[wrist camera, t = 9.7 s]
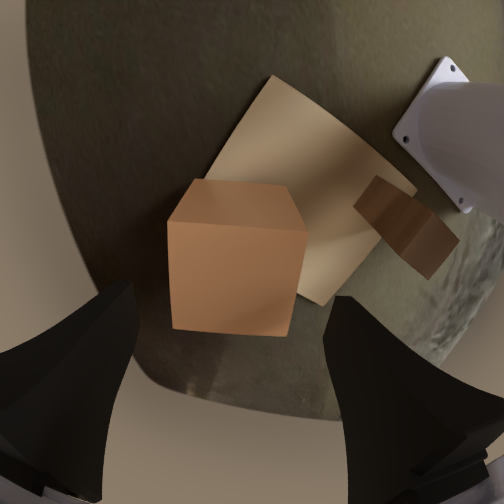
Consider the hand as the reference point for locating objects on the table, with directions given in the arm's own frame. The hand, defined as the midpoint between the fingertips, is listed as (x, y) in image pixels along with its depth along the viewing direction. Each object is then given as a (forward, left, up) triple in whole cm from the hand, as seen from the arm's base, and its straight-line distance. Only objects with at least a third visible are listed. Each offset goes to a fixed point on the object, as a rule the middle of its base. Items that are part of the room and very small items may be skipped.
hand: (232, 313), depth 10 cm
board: (-3, -3, -10) cm, 11 cm away
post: (-7, -6, -10) cm, 13 cm away
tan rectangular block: (0, 0, -8) cm, 8 cm away
